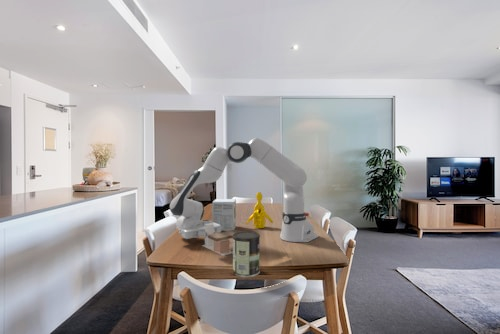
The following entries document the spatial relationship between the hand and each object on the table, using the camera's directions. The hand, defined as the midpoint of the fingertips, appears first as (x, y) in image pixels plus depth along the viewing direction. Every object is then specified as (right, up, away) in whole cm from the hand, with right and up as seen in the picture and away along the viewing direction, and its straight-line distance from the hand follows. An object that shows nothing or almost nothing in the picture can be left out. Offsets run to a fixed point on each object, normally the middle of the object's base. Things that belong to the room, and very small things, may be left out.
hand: (210, 234), depth 129 cm
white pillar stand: (+4, -7, -5) cm, 9 cm away
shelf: (+8, -7, -10) cm, 15 cm away
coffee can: (+17, -8, -27) cm, 33 cm away
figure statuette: (+25, -6, +43) cm, 50 cm away
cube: (+6, -6, -7) cm, 11 cm away
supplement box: (+3, -6, +40) cm, 40 cm away
